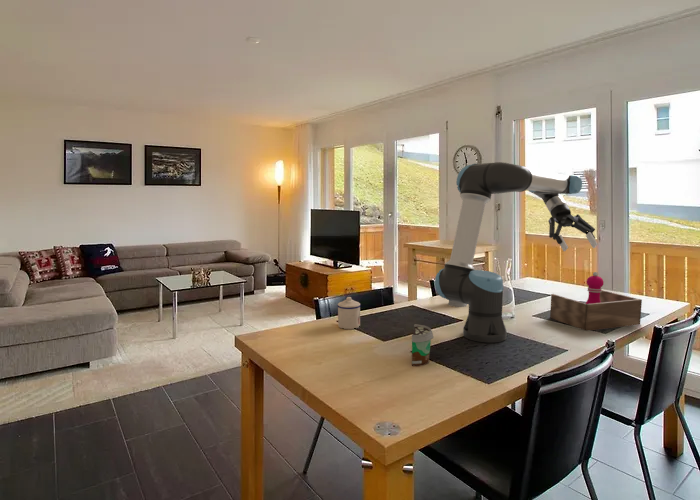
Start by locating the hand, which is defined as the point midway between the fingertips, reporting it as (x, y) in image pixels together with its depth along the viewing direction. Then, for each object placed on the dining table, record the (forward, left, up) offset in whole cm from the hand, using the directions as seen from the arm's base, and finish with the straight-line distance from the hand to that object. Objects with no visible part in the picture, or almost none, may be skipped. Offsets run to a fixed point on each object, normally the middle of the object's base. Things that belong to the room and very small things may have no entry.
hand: (580, 247), depth 183 cm
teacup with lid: (-67, -70, -29) cm, 101 cm away
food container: (-24, -85, -29) cm, 93 cm away
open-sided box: (+7, -4, -29) cm, 30 cm away
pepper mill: (+7, -4, -29) cm, 30 cm away
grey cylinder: (-46, -11, -29) cm, 56 cm away
